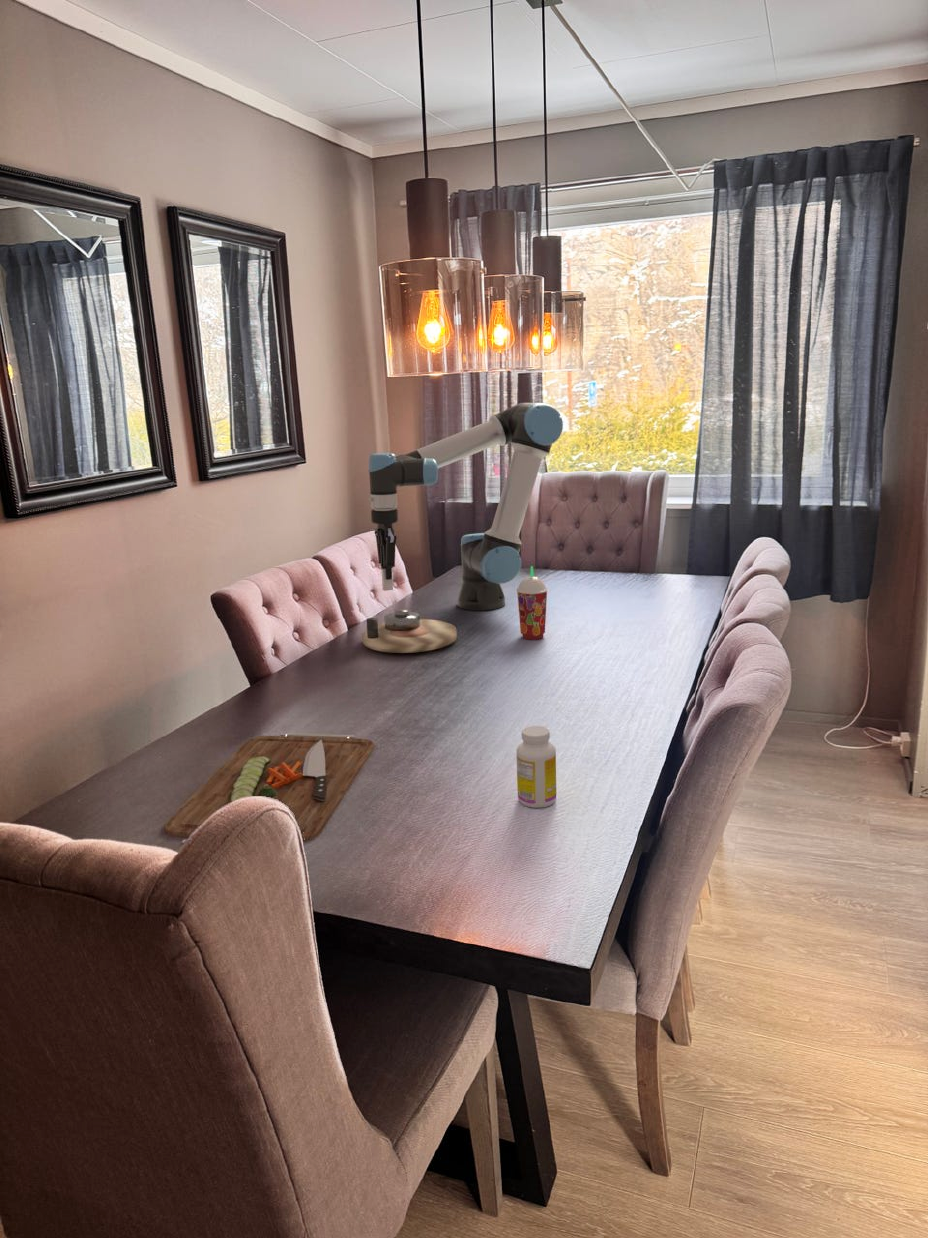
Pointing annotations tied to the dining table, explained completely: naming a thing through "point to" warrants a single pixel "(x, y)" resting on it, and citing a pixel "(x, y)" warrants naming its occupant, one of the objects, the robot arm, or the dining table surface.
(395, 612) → the cover
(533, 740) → the supplement bottle
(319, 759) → the chopping board
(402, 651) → the turntable
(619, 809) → the dining table surface
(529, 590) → the smoothie
